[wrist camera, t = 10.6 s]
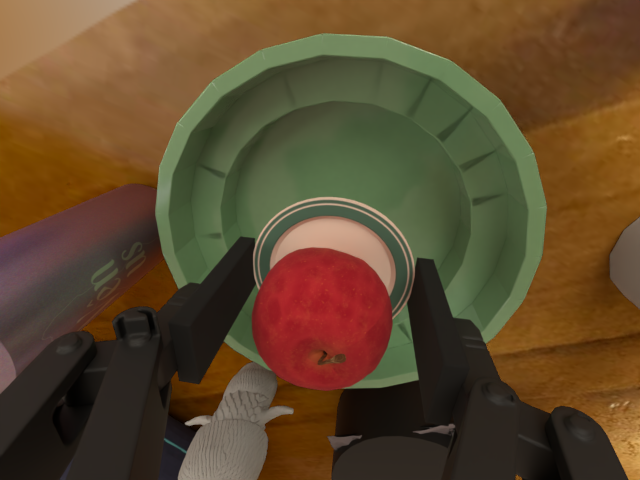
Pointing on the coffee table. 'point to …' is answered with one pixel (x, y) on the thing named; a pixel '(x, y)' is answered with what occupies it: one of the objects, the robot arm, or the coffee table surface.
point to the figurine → (235, 430)
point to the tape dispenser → (387, 436)
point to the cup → (627, 263)
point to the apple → (328, 291)
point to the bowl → (359, 173)
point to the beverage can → (72, 270)
